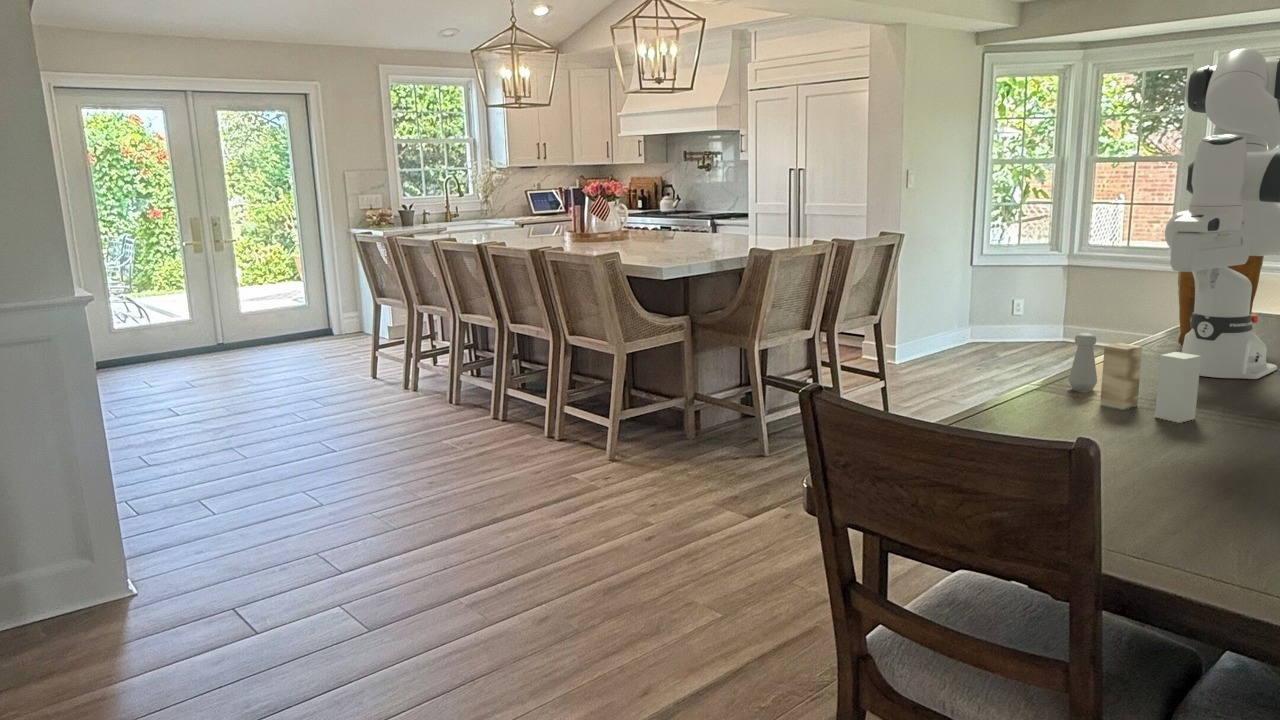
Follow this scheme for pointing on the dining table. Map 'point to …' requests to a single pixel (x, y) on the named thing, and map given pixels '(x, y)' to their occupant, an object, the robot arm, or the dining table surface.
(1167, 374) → the white block
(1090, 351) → the salt shaker
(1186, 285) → the pancake mix bag
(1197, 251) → the robot arm
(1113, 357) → the maple block
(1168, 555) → the dining table surface
